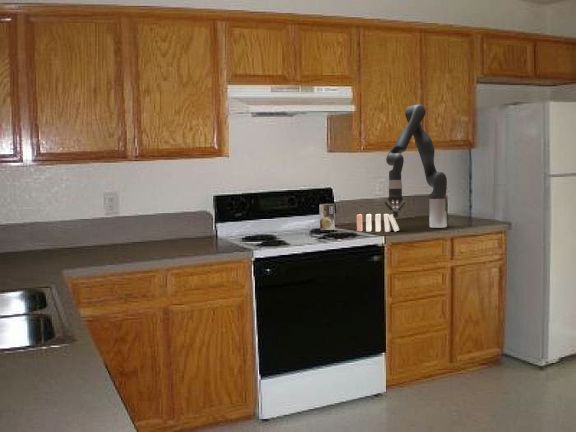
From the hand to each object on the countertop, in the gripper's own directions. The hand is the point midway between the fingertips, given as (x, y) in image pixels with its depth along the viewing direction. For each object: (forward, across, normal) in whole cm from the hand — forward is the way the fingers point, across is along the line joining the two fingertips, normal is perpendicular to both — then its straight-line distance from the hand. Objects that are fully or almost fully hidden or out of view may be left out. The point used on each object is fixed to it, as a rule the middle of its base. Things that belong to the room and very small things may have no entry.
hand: (395, 217), depth 350 cm
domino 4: (+8, +5, 0) cm, 9 cm away
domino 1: (+8, +21, 0) cm, 23 cm away
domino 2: (+8, +16, 0) cm, 18 cm away
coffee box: (+8, +42, -5) cm, 43 cm away
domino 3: (+8, +10, 0) cm, 13 cm away
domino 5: (+8, -1, 0) cm, 8 cm away
